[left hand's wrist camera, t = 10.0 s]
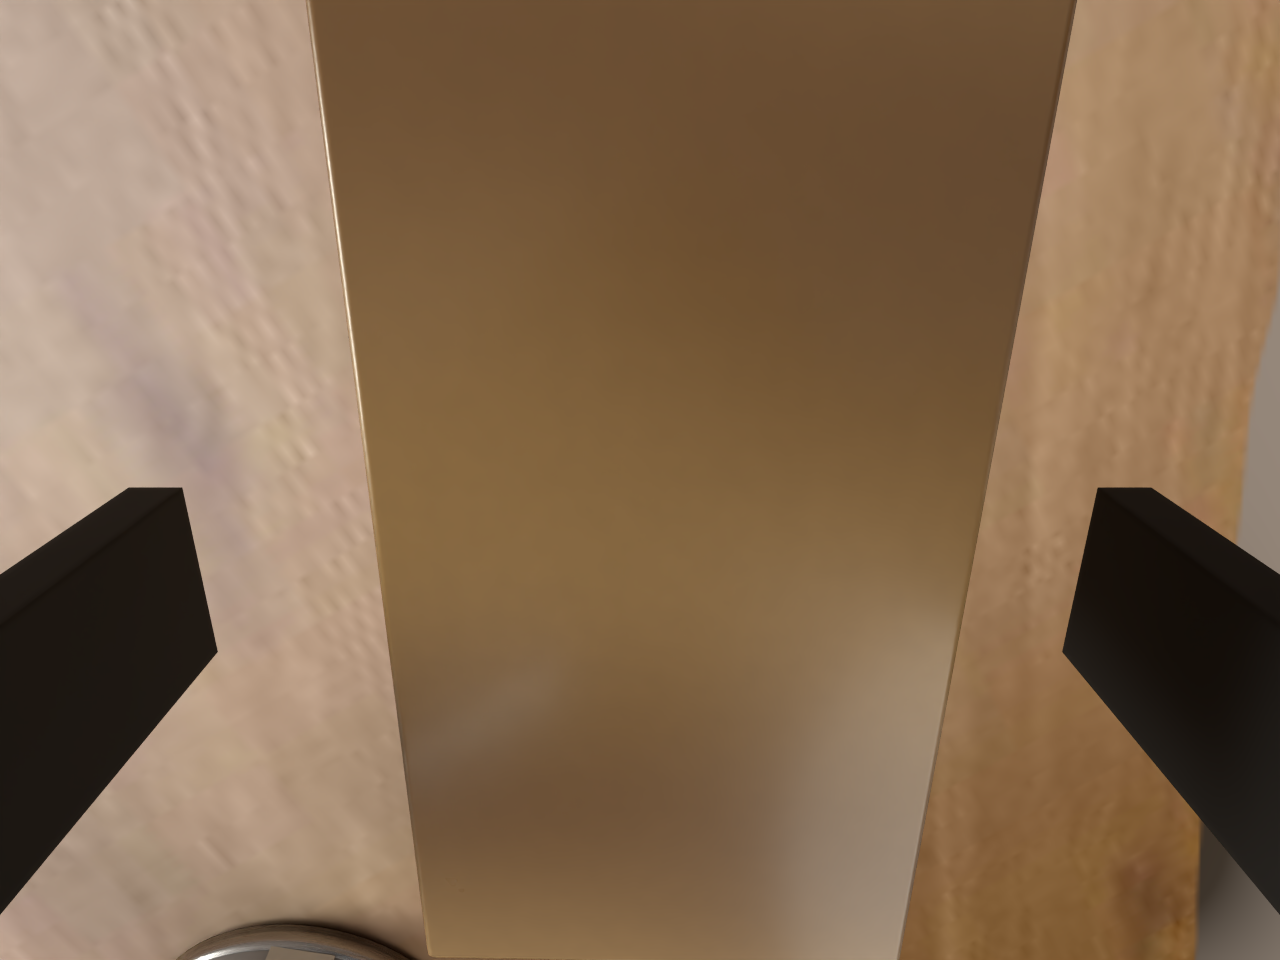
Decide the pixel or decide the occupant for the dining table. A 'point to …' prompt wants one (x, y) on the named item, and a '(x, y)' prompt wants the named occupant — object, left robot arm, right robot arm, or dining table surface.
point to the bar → (678, 441)
